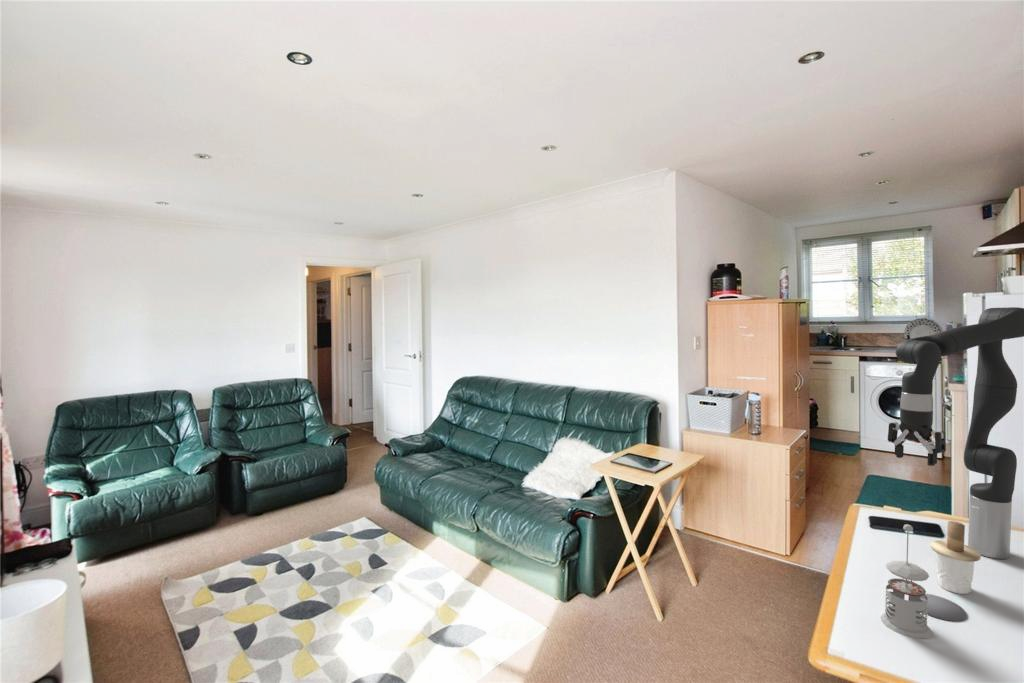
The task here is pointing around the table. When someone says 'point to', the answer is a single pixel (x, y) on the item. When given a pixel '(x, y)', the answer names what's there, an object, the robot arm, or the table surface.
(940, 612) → the mat
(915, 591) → the french press
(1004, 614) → the table surface
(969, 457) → the robot arm
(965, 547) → the lid
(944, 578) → the white cup
